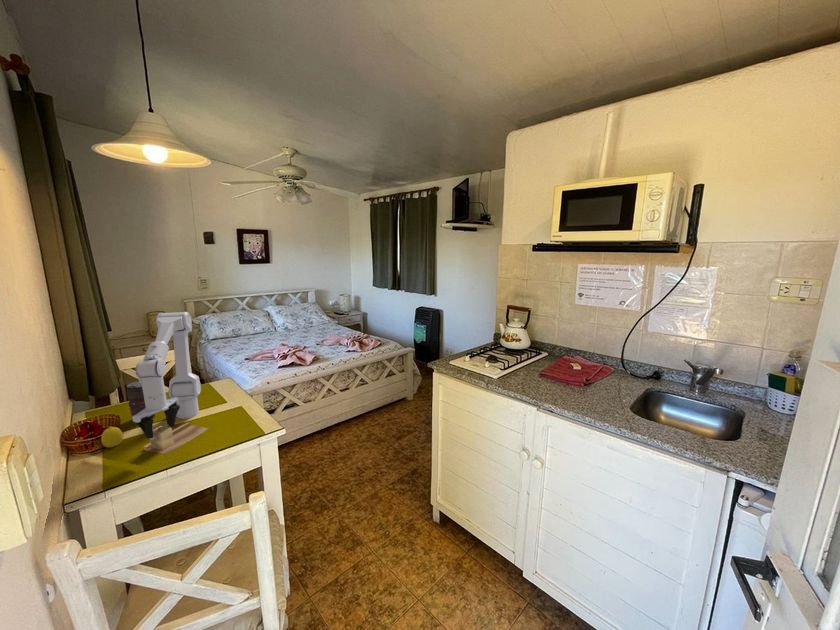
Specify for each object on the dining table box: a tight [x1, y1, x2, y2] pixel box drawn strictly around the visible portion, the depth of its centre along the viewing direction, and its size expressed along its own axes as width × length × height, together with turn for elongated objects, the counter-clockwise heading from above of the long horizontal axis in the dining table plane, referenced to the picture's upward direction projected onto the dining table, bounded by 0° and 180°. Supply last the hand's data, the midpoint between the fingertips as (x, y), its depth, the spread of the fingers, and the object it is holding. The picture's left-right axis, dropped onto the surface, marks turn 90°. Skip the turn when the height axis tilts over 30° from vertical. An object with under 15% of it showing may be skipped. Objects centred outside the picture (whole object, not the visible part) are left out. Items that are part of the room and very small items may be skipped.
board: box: [142, 422, 210, 455], centre depth 123 cm, size 10×17×3 cm, turn 166°
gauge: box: [149, 425, 174, 450], centre depth 118 cm, size 5×4×7 cm
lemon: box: [100, 426, 124, 448], centre depth 119 cm, size 6×6×8 cm
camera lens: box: [126, 380, 156, 420], centre depth 139 cm, size 8×8×15 cm
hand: (160, 431), depth 118 cm, fingers open, 7 cm apart
